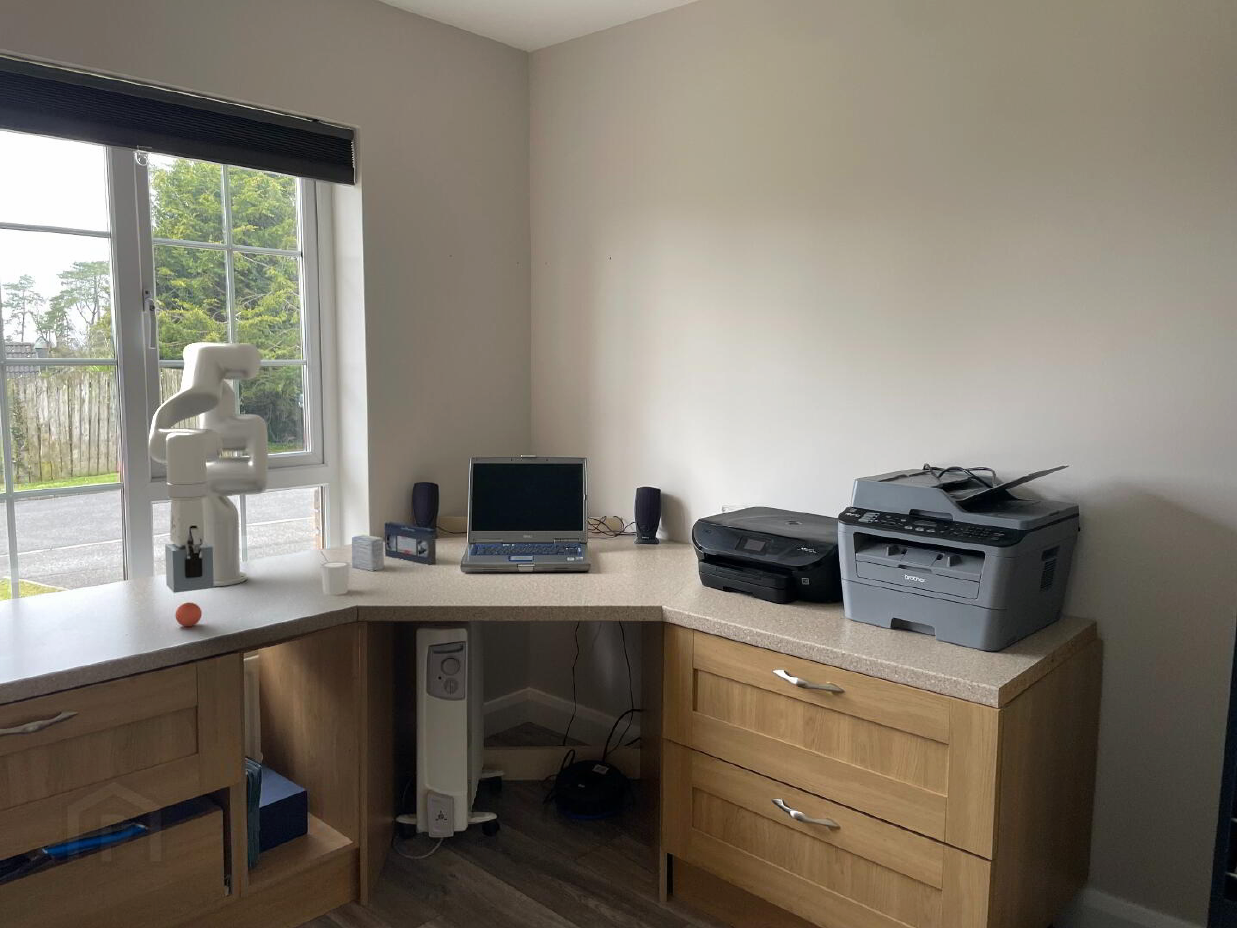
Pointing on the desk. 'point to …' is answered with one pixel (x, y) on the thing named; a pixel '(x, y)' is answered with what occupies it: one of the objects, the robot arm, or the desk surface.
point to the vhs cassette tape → (410, 543)
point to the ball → (188, 614)
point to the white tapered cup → (335, 577)
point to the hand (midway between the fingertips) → (189, 572)
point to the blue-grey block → (177, 569)
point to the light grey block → (367, 552)
